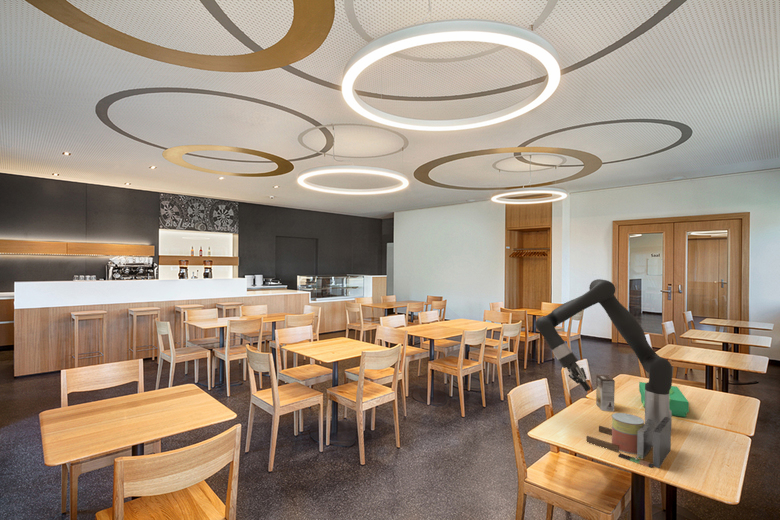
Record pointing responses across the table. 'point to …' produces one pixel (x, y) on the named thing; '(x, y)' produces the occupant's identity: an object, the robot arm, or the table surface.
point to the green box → (671, 400)
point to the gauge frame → (659, 444)
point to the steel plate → (645, 439)
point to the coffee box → (605, 392)
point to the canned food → (626, 431)
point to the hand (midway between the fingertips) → (588, 390)
